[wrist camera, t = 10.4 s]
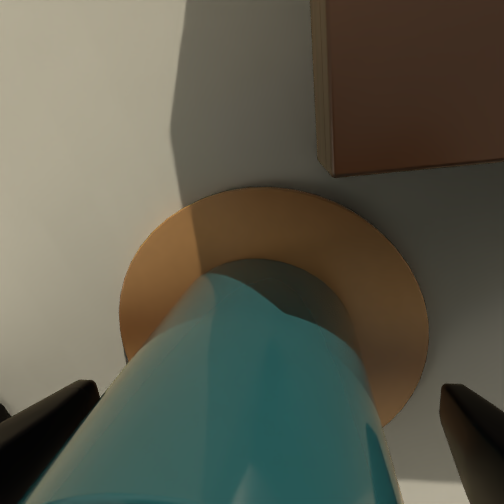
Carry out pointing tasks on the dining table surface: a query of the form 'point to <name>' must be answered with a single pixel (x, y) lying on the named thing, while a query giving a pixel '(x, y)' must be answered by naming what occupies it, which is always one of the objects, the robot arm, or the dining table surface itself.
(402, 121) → the shelf
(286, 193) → the coaster
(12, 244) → the dining table surface
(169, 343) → the cup
